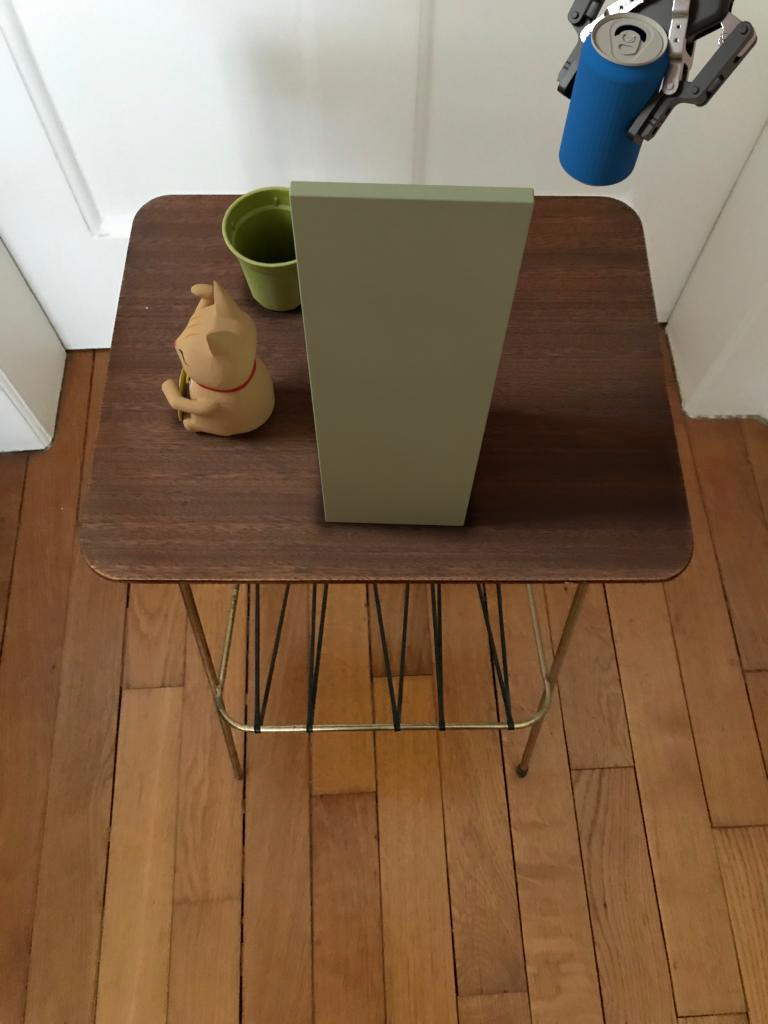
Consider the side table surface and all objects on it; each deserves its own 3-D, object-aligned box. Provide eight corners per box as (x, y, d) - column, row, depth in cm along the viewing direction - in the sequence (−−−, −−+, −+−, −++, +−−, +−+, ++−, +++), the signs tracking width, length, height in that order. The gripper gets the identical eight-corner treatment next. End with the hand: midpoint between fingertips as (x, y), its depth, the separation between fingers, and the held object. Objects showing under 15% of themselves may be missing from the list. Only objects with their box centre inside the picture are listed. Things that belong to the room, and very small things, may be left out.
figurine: (178, 364, 85) (141, 255, 71) (281, 368, 85) (263, 260, 71) (165, 443, 81) (124, 344, 68) (273, 447, 81) (253, 348, 68)
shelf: (462, 405, 83) (524, 31, 49) (463, 526, 78) (534, 202, 44) (333, 401, 83) (305, 25, 49) (325, 522, 78) (288, 195, 44)
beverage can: (640, 148, 78) (681, 19, 67) (623, 201, 75) (664, 76, 64) (567, 130, 78) (596, 0, 68) (548, 182, 76) (576, 55, 65)
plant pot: (329, 250, 91) (325, 185, 83) (330, 325, 87) (325, 265, 79) (237, 251, 91) (224, 186, 83) (233, 327, 87) (219, 266, 79)
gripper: (646, -170, 63) (511, 59, 70) (821, -79, 58) (658, 156, 65) (671, -121, 69) (545, 85, 76) (830, -35, 65) (680, 175, 72)
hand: (597, 117), depth 71 cm, fingers closed on beverage can, 6 cm apart
